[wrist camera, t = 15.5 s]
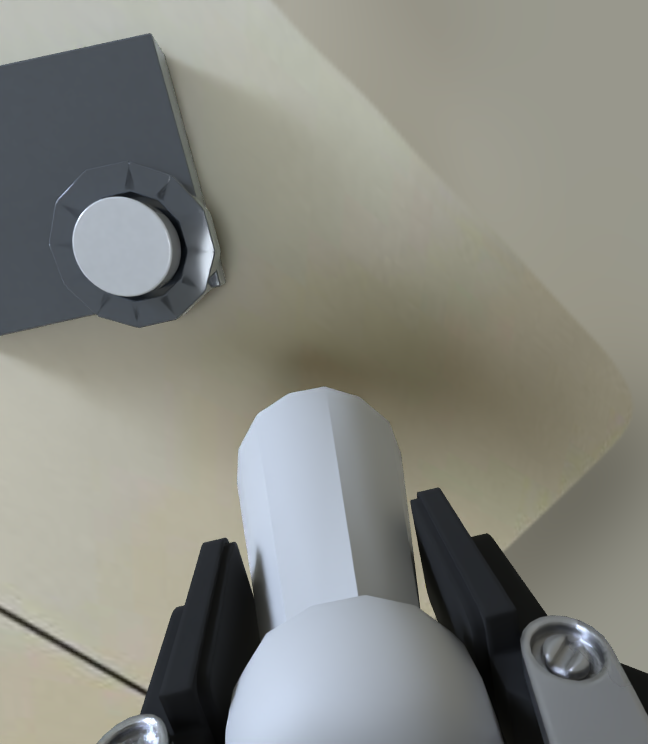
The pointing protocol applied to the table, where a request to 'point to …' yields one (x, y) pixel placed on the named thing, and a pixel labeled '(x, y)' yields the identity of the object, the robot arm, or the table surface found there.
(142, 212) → the flush button
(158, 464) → the table surface
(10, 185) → the plate
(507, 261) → the table surface
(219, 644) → the robot arm
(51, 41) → the table surface
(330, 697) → the salt shaker
